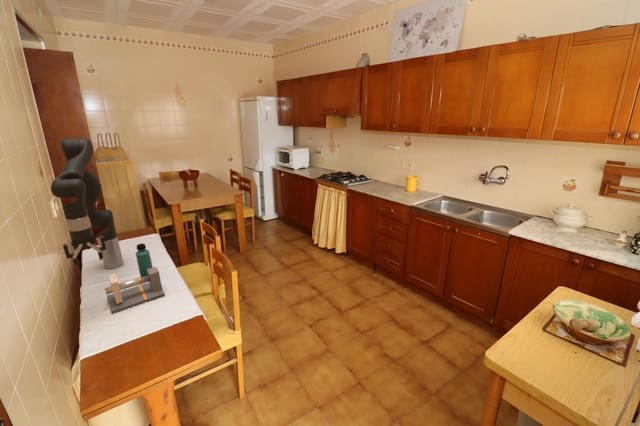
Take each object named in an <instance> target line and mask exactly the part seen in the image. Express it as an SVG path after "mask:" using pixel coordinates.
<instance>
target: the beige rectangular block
mask: <svg viewBox="0 0 640 426" xmlns="http://www.w3.org/2000/svg"><path fill="white" fill-rule="evenodd" d="M108 278H109V281H110V285H111V286H112V288H113V293H112V294H114V297H115V300H116V303H120V302H123V299H122V295H121V291H122V290H120V287H119V284H120V283H119V281H118V278H117V275H116V273H112V274H108Z"/></svg>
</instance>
